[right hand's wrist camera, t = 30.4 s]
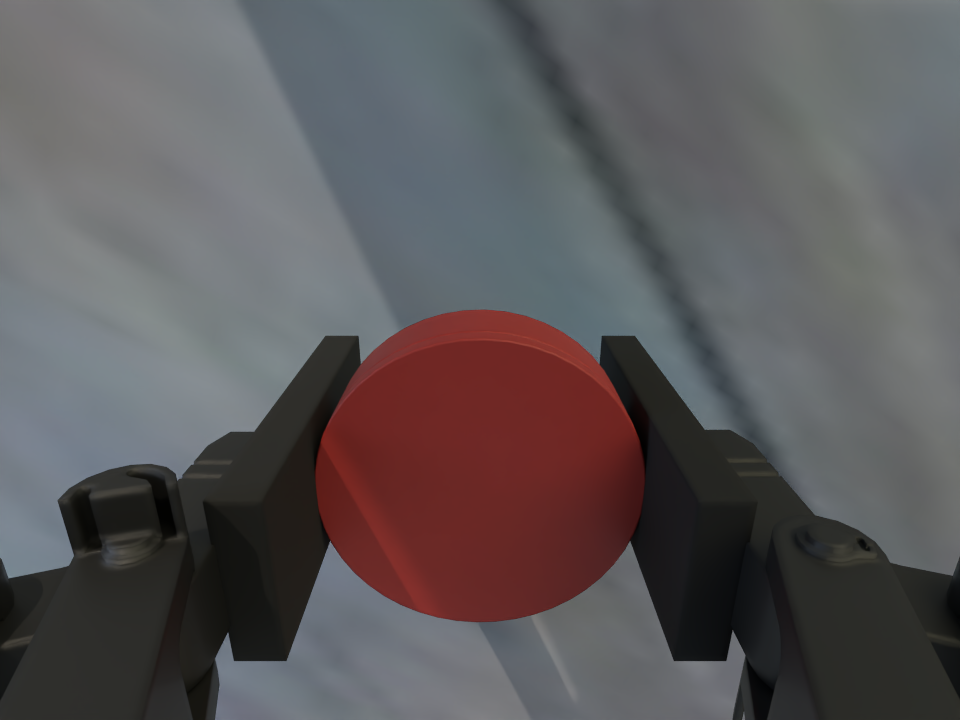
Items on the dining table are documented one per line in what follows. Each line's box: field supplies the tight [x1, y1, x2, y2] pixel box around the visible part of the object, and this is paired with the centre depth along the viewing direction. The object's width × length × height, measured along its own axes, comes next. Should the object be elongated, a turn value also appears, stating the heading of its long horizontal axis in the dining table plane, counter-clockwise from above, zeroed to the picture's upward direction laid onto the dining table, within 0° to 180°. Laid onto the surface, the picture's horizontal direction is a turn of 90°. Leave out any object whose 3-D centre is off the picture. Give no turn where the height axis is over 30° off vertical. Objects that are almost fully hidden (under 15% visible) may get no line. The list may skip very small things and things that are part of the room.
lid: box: [315, 310, 646, 622], centre depth 11 cm, size 6×6×2 cm
